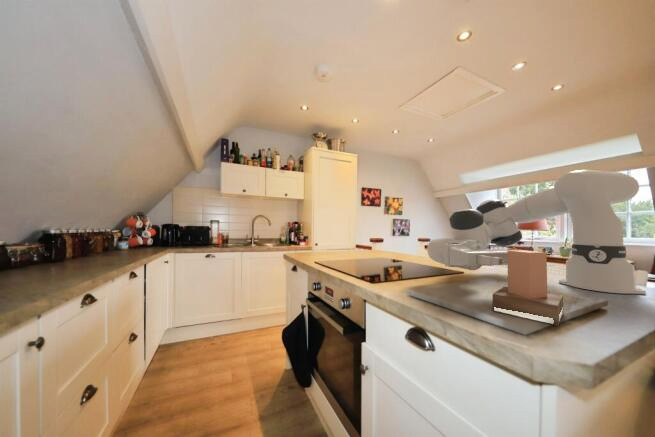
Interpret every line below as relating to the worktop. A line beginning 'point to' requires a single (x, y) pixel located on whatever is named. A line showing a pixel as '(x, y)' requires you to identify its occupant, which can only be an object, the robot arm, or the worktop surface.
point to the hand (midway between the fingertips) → (515, 261)
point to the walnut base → (530, 304)
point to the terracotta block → (527, 273)
